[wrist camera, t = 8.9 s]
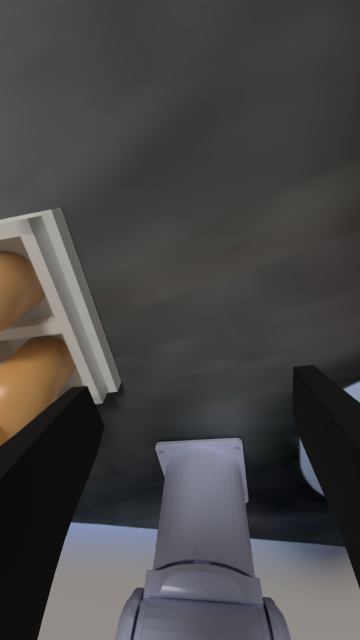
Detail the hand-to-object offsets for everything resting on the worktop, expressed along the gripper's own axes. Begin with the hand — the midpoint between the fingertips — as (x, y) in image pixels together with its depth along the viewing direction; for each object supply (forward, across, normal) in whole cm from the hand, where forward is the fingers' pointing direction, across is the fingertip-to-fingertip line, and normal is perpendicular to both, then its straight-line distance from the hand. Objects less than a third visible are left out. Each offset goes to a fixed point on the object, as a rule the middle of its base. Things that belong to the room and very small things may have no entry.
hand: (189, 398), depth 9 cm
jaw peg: (+9, +12, +3) cm, 15 cm away
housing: (+10, +12, 0) cm, 15 cm away
